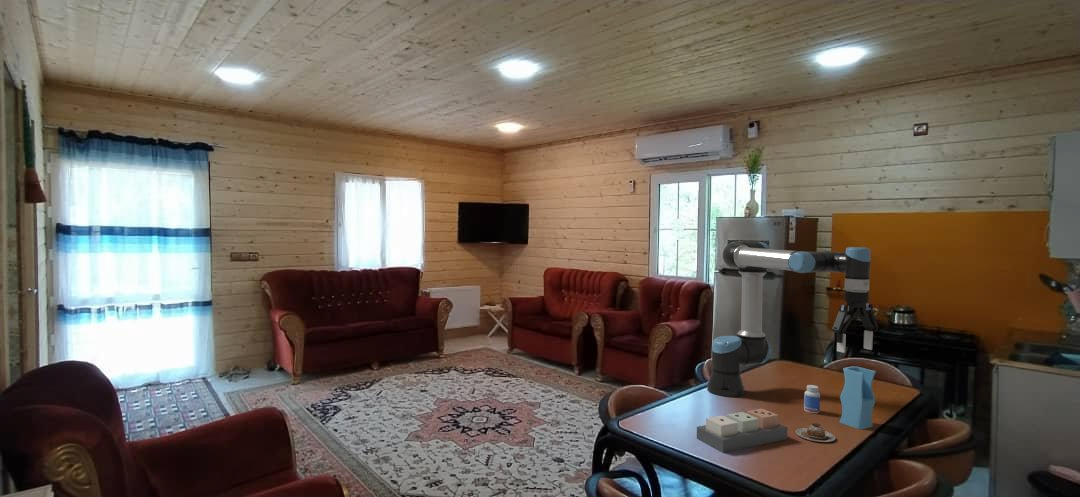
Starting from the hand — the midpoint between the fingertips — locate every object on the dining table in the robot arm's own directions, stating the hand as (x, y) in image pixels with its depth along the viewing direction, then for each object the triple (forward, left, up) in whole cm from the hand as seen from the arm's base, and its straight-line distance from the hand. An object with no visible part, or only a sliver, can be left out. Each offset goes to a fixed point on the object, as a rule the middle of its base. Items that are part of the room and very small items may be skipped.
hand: (854, 350), depth 187 cm
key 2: (-7, -45, -24) cm, 51 cm away
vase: (-1, +4, -28) cm, 28 cm away
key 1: (-7, -54, -24) cm, 60 cm away
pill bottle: (-17, +1, -28) cm, 32 cm away
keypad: (-7, -45, -27) cm, 53 cm away
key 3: (-7, -36, -24) cm, 44 cm away
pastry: (+1, -20, -28) cm, 35 cm away
